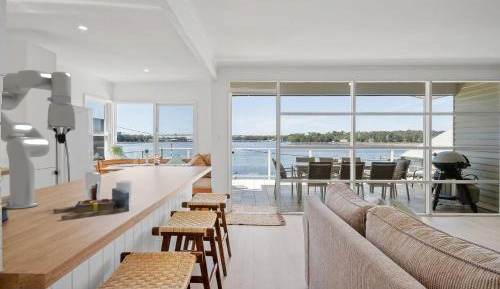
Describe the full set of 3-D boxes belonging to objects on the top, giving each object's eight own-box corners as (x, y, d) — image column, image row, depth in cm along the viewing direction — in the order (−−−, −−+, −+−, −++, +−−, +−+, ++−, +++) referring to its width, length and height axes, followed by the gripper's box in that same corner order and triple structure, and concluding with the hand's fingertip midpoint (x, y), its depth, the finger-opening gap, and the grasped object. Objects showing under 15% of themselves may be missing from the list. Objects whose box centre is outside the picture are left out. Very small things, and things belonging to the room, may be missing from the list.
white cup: (135, 200, 169) (135, 180, 169) (128, 203, 161) (128, 182, 161) (120, 199, 170) (120, 180, 170) (112, 202, 162) (112, 182, 162)
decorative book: (78, 210, 147) (78, 199, 147) (117, 208, 153) (117, 197, 153) (75, 216, 136) (75, 204, 136) (117, 213, 142) (117, 201, 142)
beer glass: (104, 203, 160) (104, 172, 159) (92, 206, 154) (92, 174, 153) (94, 202, 163) (94, 171, 162) (81, 205, 156) (81, 173, 156)
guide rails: (62, 220, 128) (62, 199, 128) (53, 212, 140) (53, 193, 140) (128, 210, 145) (128, 192, 145) (115, 205, 157) (115, 188, 157)
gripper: (42, 99, 137) (43, 143, 138) (82, 101, 147) (82, 143, 147) (39, 100, 143) (39, 143, 143) (77, 103, 153) (78, 143, 153)
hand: (61, 143), depth 145 cm, fingers closed
